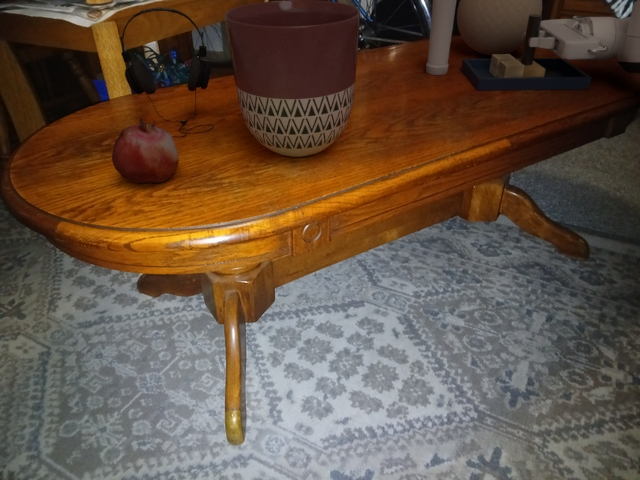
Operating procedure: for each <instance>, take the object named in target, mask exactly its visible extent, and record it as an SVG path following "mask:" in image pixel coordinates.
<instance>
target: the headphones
mask: <svg viewBox="0 0 640 480" xmlns="http://www.w3.org/2000/svg"><path fill="white" fill-rule="evenodd" d="M151 12H169V13H174V14H178V15H180V16H182V17H184V18H185V19H187V20H188V21H189V22H190V23H191V24H192V25H193V27H195V29H196V31H197V33H198V34H199V36H200V41H201V45H199V46H198V56H199V57H198V56H195V55H193V56H192V59H191V62H190V66H189V72H188V77H187V90H188V91H190V92H195V93H194V101H195V104H194V107H195V108H194V109H195V113H194V117H193V119H195V118H196V116H197V89H201V90H206V89H207V88H208V87H209V81H210V76H211V69H212V67H211V64H210V63H209V62H205V60H204V58H206V57H207V53H208V52H207V51H208V50H207V48H208V47H207V46H206V45H205V43H204V32H203V31H200V29H199V27H198V25H197V24H196V23H195V22H194V21H193V19H192V18H190V17H189V16H188V15H187V14H185V13H184V12H181V11H179V10H177V9H175V8H170V7H159V6H158V7H150V8H146V9H142V10H140V11H139V12H137V13H135V14H133V15H132V16H131V17H130V18H129V19H128V20H127V22H126V24H125V26H124V27H123V31H122V34H121V36H120V37H119V38H120V42H121V49H122V51H121V53H120V55H121V57H122V60H123V62H124V63H129V67H127V68H126V69H124V77H125V80H126V82H127V84H128V86H129V87H130V89H131V90H132V92H133V93H134V94H136V95H142V94H143V93H145V94H146V95H147V97H148V99H149V101H150V102H151V104H152V106H153V108H154V110H155V112H156V114H157V115H158V116H159V117H161V118H162V119H163V120H164V121H166V122H169V120H168V119H165V118H164V117H163V116H162V115H161V114H160V113H159V112H158V111H157V109H156V106H155V105H154V103H153V101H152V99H151V97H150V96H149V95H154V94H155V93H156V92H157V87H156V83H155V81H154V79H153V76H152V74H151V72H150V71H149V69H148V67H147V66H146V64H145V63H144V62H143V61H142V60H139V59H136V60H135V61H133V57H132V54H131V52H130V50H127V48H126V44H125V41H124V37H125V32H126V29H127V27H128V26H129V24H130V22H131V21H132V20H134V18H136V17H138V16H140V15H143V14H147V13H151ZM200 57H201V58H200ZM132 61H133V63H132ZM190 119H191V117H188V118H187V119H185V120H177V122H179V123H180V124H182V125H181V126H180V127H179V128H178V131H179V132H180V133H181V134H184V135H181V136H179V138H185V137H186V136H187V134H188V135H189V134H190V132H189V131H190V130H192V129H195V128H198V127H203V126H205V124H199V125H196V126H192V127H191V128H189V129H188V130H186V133H187V134H185V132H184V131H181V130H180V129H181V128H182V127H183V126H185V125H186V124H187V123H188V120H190ZM207 126H213V127H211V128H209V129H207V130H204V131H197V132H195V131H194V134H200V133H205V132H209V131H211V130H213V129H214V127H215V125H214V124H207ZM171 136H172V137H173V138H178V136H176V135H171Z"/></svg>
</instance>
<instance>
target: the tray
mask: <svg viewBox="0 0 640 480" xmlns="http://www.w3.org/2000/svg"><path fill="white" fill-rule="evenodd" d="M514 58H515V59H518V58H519V57H514ZM533 61H535V62H536V63H537V64H539V65H540V66H542V67H543V68H545V69H546V70H545V74H544V77H515V78H497V77H494V76H493V75H492V74H491V73H490V72H489V69H490V63H491V58H462V61H461V68H460V70H461V71H462V72H463V74H464V76H465V77H466V78H467V79H468V81H469V82H470V83H471V84H472V86H473V87H474V88H475V89H476V91H477V92H479V91H480V92H481V91H484V92H485V91H554V90H555V91H556V90H557V91H558V90H559V91H560V90H589V87H590V85H591V81H592V76H590V75H588V74H587V73H586V72H584V71H583V70H582V69H580V68H578V67H577V66H576V65H574V64H573V63H571V62H570V61H569V60H566V59H562V58H560V57H534V59H533Z"/></svg>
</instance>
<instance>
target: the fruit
mask: <svg viewBox="0 0 640 480" xmlns="http://www.w3.org/2000/svg"><path fill="white" fill-rule="evenodd" d="M155 125H156V120H153V121H152V124H151V123H149V122H147V121H146V122H144V117H143V116H140V118H139V124H132V125H129V126H127V127H125V128H123V130H121V132H120V133H119V135H118V136H117V138H116V140H115V142H114V144H113V148H112V152H111V153H112V154H111V161H112V165H113V166H114V168H115V170H116V172H117V173H118V174H119V175H120V177H122V178H123V179H124V180H126V181H128V182H130V183H133V184H141V183H142V184H143V183H147V184H148V183H149V184H160V183H163V182H165V181H167V180H168V179H170V177H172V175H173V174H174V173H175V172H176V170H177V169H178V165H179V162H180V157H179V152H178V148H177V145H176V143H175V140H174V137H172V136H173V135H172V134H171V133H170V132H168V130H165V129H163V128H161V127H159V126H155Z"/></svg>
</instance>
